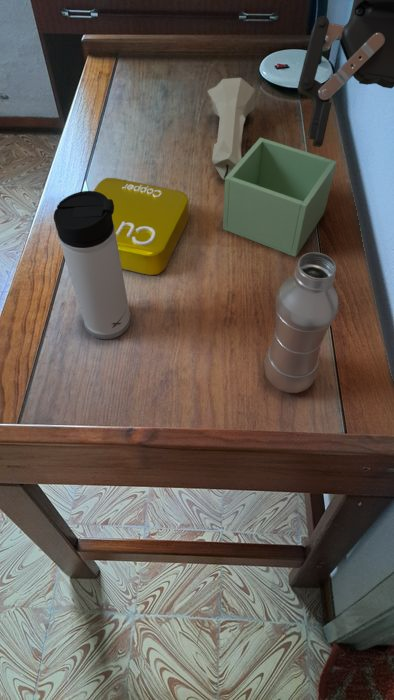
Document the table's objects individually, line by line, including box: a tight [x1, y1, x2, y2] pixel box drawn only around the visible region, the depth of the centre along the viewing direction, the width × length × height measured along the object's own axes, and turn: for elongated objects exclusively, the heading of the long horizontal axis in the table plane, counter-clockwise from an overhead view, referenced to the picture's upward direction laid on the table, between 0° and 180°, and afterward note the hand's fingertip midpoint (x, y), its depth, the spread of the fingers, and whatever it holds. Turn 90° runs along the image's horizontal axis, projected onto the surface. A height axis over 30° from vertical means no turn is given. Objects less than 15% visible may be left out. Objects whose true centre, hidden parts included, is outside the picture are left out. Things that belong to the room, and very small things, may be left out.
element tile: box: [93, 177, 190, 276], centre depth 78 cm, size 15×15×5 cm
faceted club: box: [207, 77, 256, 181], centre depth 90 cm, size 9×8×25 cm
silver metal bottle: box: [263, 251, 340, 394], centre depth 56 cm, size 6×7×20 cm
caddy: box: [222, 137, 338, 258], centre depth 78 cm, size 13×12×10 cm
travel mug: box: [53, 190, 131, 340], centre depth 62 cm, size 6×7×20 cm
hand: (361, 153), depth 49 cm, fingers open, 8 cm apart
